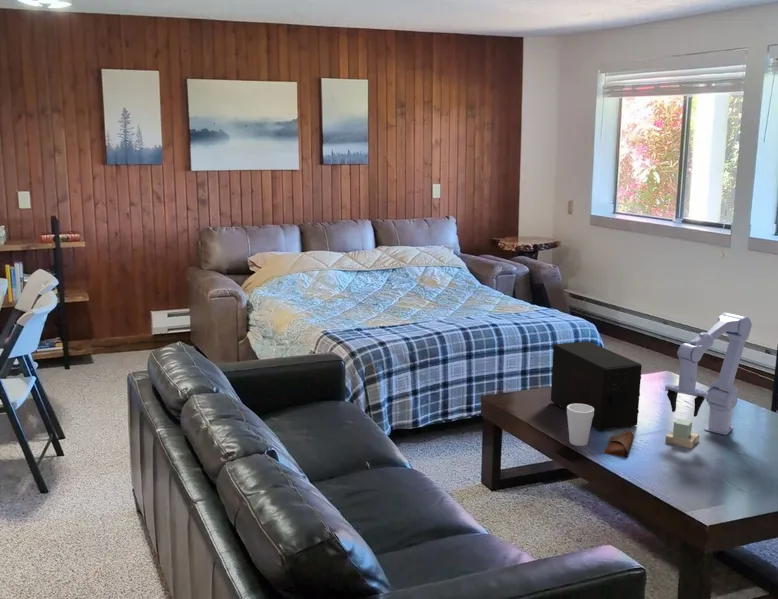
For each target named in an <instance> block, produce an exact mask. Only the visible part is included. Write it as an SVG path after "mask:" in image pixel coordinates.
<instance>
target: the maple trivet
mask: <svg viewBox="0 0 778 599" xmlns="http://www.w3.org/2000/svg"><path fill="white" fill-rule="evenodd" d="M664 441H665V443H666V444H671V445H675V446H679V447H684V448H687V449H692V448H693V447H694V446H696V444H698V442H699V441H700V433H697V432H696V433H695V432H692V431H691V435H690V436H689V437H688V439H685V438H680V437H676V436H673V429H672V430H671V431H669V433H667V434H666V435H665V440H664Z"/></svg>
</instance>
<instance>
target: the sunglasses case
mask: <svg viewBox="0 0 778 599" xmlns="http://www.w3.org/2000/svg"><path fill="white" fill-rule="evenodd" d="M634 438H635V435H634V433H633V431H631V430H626V431H624V432H622V433H620V434H619V433H618V434H614V435H612V436H610V438H609V441H608V443H607V445H606V447H605V448H604V451H603V454H604V455H611V456H617V457H623V458H628V456H629V453H630V450H631V447H632V445H633V441H634Z"/></svg>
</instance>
